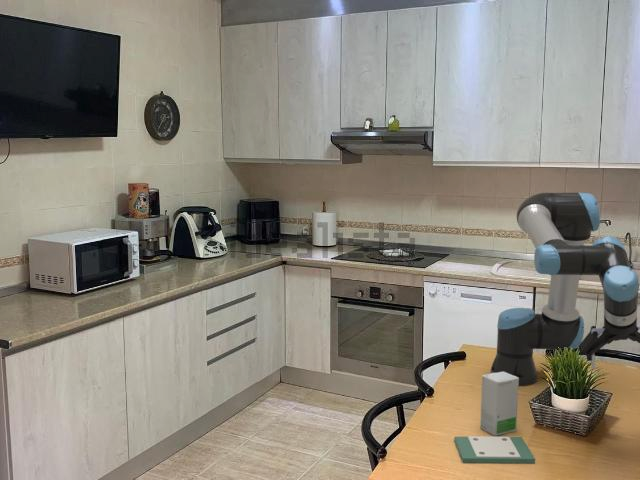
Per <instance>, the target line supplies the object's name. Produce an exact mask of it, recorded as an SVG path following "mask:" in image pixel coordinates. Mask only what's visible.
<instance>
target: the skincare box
mask: <svg viewBox="0 0 640 480" xmlns="http://www.w3.org/2000/svg"><path fill="white" fill-rule="evenodd" d="M481 380H482V383H481V400H480V401H481V402H480V403H481V404H480V422H479V424H480V425H479V426H480V429H482V430H483V431H485V432H486V433H488V434H490V435H492V436H493V437H499V436H501V435H505V434H509V433H513V432H516V431H517V425H518V404H519V403H518V402H519V386H520V385H519V378H518V377H516V376H513V375H511V374H508V373H506V372H498V373H491V372H490V373H487V374H482V375H481Z"/></svg>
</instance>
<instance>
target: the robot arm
mask: <svg viewBox="0 0 640 480" xmlns="http://www.w3.org/2000/svg"><path fill="white" fill-rule="evenodd" d="M516 211H517V212H516V223H517V225H518V226H519V228H520V230H521V231H523V233H526V235H528V237H529V239H530V241H531V243H532V244H533V245H534V248H535V250H534V256H533V258H534V259H533V262H534V263H533V264H534V267H535V271H536V273H538V274H540V275H549V276H550V281H549V289H548V296H547V297H548V299H547V304H545V305H543V306H542V309H541V313H536V311H535V310H534V309H532V308H528V307H526V308H525V307H514V308H508V309H505V310H503V311H501V312H500V313H499V315H498V320H497V326H496V327H497V335H496V336H497V339H496V341H497V342H496V355H495V358H494V359H493V362H492V365H491V367H490V374H491V373H498V372H506V373H508V374H511V375H513V376H516V377H518V378H519V385H518V386H529V385H532V384H535V383H536V382H537V381H538V371H537V369H536V364H535V361H534V358H533V357H534V354H533V353H534V350H556V349H557V348H558V347H559V348H561V349H563V348H564V347H567V348H570V347H572V348H574V350H576V349H578V350H579V354H580V355H581V356H584V355H585V356H586V360H587V362H589V361H590V365H591V369H592V370H596V355H595V353H596V352H598V351H599V350H601V349H602V348H603V347H605V346H606V345H607V344H608V345H609V344H611V343H612V342H614V341H615V342H616V341H627V340H631V341H633V342H637V343H638V344H640V332H639V331H640V323H638V322H637V321H638V305H639V304H638V303H639V302H638V301H639V289H640V282H639V275H638V274H637V272H636V271H635V270H633V268H631V266H630V261H629V258H628V253H627V251H626V249H625V246H624V244H623V242H622V241H621V240H620V239H619V238H617V237H614V236H608V235H607V236H604V237H602V238H601V237H600V238H597V239H596V240H595V241H594V242H593V243H592V244H591V245H585V243H586V242H587V241H588V240H590V239H591V235H592V232H596V231H598V230H599V228H600V223H601V216H600V207H599V203H598V200H597V199H596V197H595V196H594V195H593V194H591V193H588V192H587V193H586V192H579V191H578V192H541V193H540V192H539V193H536V194H533V195H531V196H528V197H527V198H526V199H525V200H524V201H523V202H522V203H520V205H519V207H518V209H517V210H516ZM581 276H598V277H599V280H600V283H601V287H602V291H603V301H604V303H603V307H604V308H603V315H604V316H603V322H604V323H603V324H604V325H603V327H599V328H598V327H596V326H595V325H591V327H590V331H589V332H588V334H587V335H586V336H585V338H584V333H585V329H584V327H585V323H584V322H585V321H584V319H583V316H582V315H580V311H579V310H578V309H577V308H576V305H577V298H578V292H579V284H580V277H581Z"/></svg>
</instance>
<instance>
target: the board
mask: <svg viewBox="0 0 640 480" xmlns="http://www.w3.org/2000/svg"><path fill="white" fill-rule="evenodd" d="M453 442H454V443H455V446H456V449H457V452H458V455H459V457H460V460H461V463H462V464H536V458H535V456H534V454H533V453H532V451H531V449H530V448H529V446H528V445H527V443H526V441H525V439H524V438H523V437H522V436H483V435H482V436H474V435H473V436H472V435H471V436H470V435H469V436H454V439H453Z"/></svg>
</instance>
